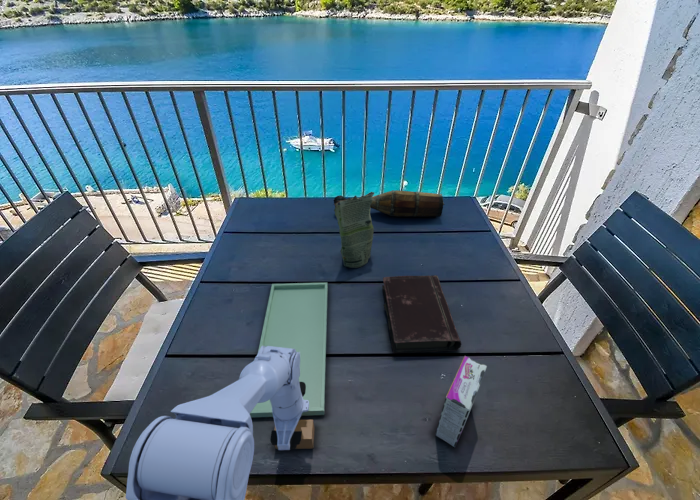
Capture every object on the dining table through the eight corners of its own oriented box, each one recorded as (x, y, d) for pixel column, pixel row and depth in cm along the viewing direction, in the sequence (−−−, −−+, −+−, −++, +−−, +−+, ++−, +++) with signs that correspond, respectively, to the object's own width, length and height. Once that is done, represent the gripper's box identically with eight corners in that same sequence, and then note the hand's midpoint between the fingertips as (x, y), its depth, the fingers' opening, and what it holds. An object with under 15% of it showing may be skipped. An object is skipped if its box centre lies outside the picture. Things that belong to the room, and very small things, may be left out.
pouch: (334, 265, 120) (331, 203, 105) (345, 245, 129) (344, 185, 114) (365, 272, 118) (367, 208, 102) (374, 251, 127) (377, 190, 111)
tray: (324, 415, 80) (323, 410, 78) (247, 417, 79) (245, 413, 78) (327, 287, 112) (327, 282, 111) (272, 288, 112) (271, 283, 111)
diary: (437, 285, 112) (439, 274, 109) (459, 351, 93) (463, 339, 90) (379, 287, 112) (380, 276, 109) (390, 354, 92) (391, 342, 89)
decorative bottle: (439, 200, 149) (334, 196, 151) (445, 186, 139) (332, 182, 141) (440, 222, 145) (332, 218, 147) (446, 210, 135) (330, 206, 137)
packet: (313, 448, 74) (311, 439, 71) (275, 449, 74) (272, 439, 71) (314, 429, 77) (313, 419, 74) (278, 429, 77) (275, 420, 74)
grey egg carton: (451, 395, 83) (464, 354, 73) (471, 406, 81) (488, 365, 71) (432, 435, 76) (445, 396, 66) (455, 449, 74) (471, 410, 64)
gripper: (303, 433, 58) (309, 465, 67) (309, 358, 70) (314, 394, 78) (261, 434, 58) (272, 466, 67) (274, 359, 70) (283, 394, 78)
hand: (293, 427), depth 72 cm, fingers open, 7 cm apart
